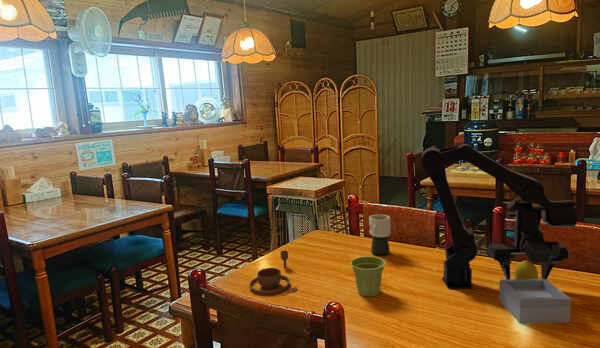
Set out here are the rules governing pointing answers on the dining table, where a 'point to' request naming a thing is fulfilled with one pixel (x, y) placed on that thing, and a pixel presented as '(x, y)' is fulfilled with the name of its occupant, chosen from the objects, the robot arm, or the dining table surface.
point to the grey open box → (534, 301)
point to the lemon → (526, 270)
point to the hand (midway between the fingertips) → (525, 281)
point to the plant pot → (368, 274)
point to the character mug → (379, 233)
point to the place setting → (272, 279)
